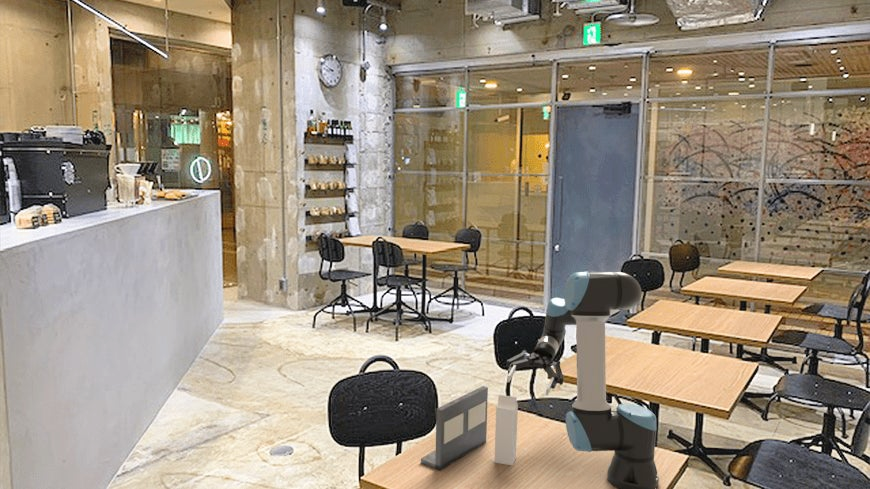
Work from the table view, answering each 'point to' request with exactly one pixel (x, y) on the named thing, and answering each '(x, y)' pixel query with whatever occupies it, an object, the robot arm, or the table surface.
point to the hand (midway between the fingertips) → (527, 385)
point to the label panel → (459, 428)
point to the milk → (506, 430)
